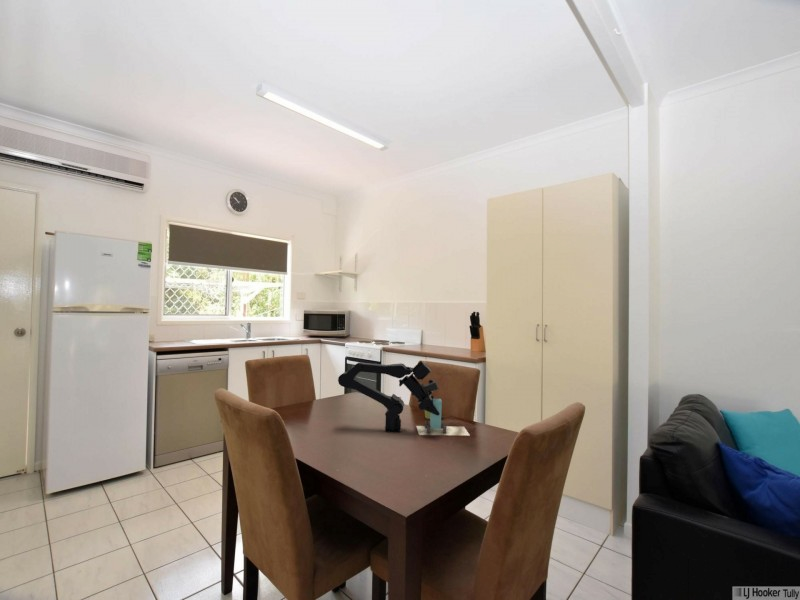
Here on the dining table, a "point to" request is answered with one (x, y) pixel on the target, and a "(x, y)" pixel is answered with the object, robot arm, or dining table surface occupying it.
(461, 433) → the peg board
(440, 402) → the teal post
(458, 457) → the dining table surface
